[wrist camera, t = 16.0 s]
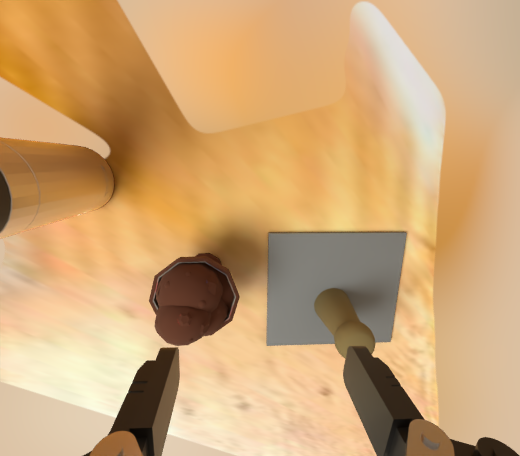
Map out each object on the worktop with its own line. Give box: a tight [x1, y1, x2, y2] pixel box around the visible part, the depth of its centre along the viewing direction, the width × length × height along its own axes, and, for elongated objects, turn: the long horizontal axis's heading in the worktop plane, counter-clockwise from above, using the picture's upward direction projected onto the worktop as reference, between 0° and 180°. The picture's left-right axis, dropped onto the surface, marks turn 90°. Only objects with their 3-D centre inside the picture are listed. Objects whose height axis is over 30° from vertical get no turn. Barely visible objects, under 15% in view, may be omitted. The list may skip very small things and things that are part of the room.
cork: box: [314, 288, 375, 359], centre depth 38 cm, size 6×6×11 cm
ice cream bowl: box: [149, 253, 239, 346], centre depth 34 cm, size 11×11×15 cm
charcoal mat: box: [267, 232, 407, 346], centre depth 44 cm, size 22×20×1 cm
